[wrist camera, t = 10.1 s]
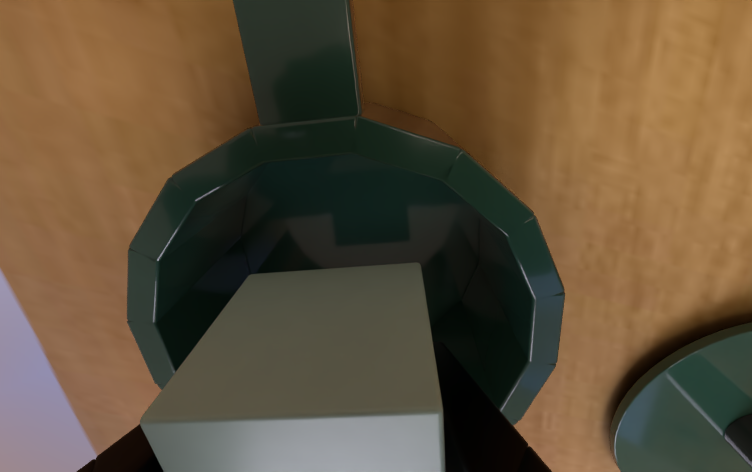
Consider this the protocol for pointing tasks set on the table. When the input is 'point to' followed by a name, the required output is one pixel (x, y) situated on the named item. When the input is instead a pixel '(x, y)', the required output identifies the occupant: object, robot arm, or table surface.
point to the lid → (690, 410)
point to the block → (308, 379)
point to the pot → (344, 213)
